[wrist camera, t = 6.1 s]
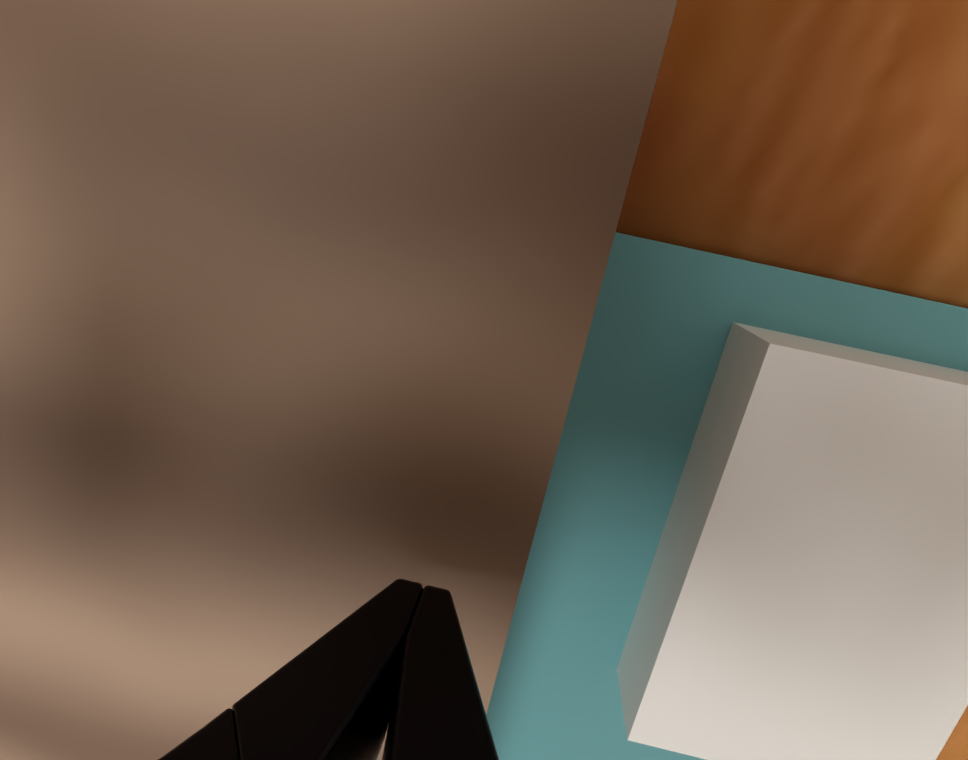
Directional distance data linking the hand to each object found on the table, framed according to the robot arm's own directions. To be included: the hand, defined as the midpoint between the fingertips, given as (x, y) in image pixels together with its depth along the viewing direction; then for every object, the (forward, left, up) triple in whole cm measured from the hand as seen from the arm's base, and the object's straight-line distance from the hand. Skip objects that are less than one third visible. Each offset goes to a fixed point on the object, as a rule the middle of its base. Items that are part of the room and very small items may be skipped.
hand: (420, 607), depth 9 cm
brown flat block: (0, +4, -5) cm, 7 cm away
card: (0, -8, -4) cm, 9 cm away
